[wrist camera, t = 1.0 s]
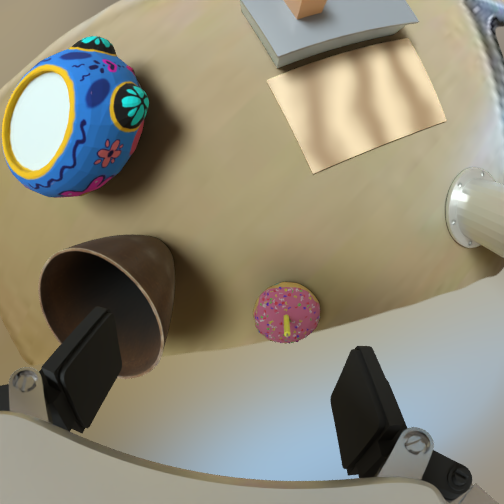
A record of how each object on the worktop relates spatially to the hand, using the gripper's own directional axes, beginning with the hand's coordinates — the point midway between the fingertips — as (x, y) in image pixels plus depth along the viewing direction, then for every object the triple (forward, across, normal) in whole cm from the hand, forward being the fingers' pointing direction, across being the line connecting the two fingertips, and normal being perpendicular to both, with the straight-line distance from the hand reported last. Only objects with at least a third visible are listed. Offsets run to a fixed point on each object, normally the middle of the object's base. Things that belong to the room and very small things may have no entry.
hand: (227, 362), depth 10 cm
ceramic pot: (+27, +22, -10) cm, 36 cm away
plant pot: (+27, +14, +9) cm, 32 cm away
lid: (+21, -5, -28) cm, 35 cm away
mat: (+27, -12, -17) cm, 34 cm away
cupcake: (+27, -6, +11) cm, 30 cm away
